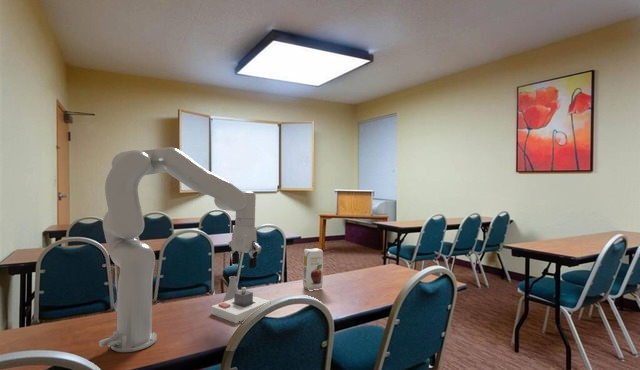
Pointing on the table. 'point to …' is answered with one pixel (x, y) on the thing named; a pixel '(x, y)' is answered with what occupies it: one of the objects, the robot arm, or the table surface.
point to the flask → (231, 289)
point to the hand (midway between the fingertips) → (243, 265)
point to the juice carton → (313, 269)
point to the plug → (243, 298)
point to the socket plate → (236, 309)
